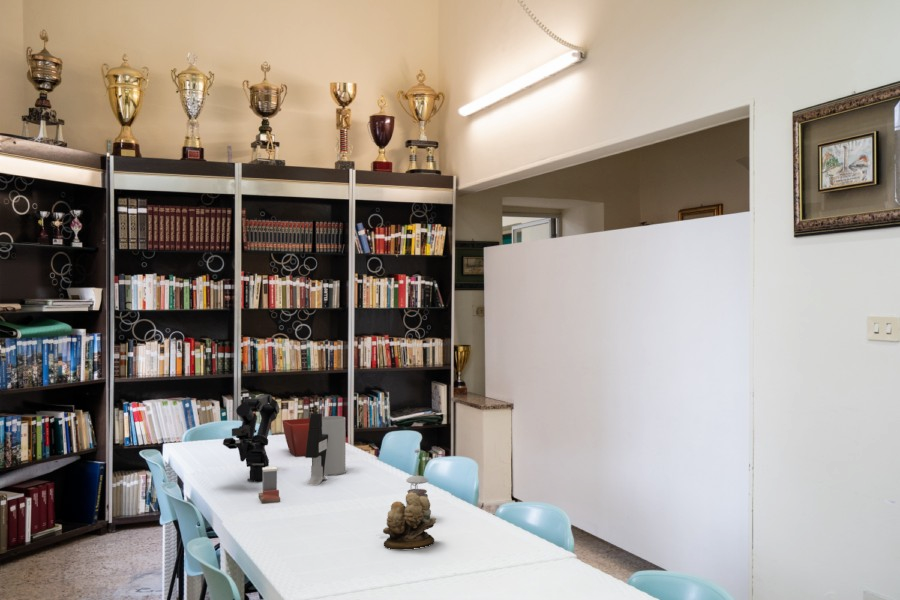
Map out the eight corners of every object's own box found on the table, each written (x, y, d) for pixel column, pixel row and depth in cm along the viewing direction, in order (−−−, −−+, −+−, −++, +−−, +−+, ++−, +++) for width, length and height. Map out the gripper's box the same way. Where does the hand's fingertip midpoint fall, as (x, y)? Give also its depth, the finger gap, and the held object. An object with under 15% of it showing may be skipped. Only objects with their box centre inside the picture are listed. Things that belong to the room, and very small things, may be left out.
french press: (406, 522, 285) (406, 452, 285) (400, 513, 296) (400, 446, 296) (433, 520, 288) (433, 450, 288) (425, 512, 299) (425, 445, 299)
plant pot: (281, 451, 416) (281, 419, 416) (317, 449, 424) (317, 417, 424) (290, 458, 398) (290, 424, 398) (327, 455, 406) (327, 422, 406)
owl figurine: (428, 535, 269) (428, 485, 269) (443, 545, 259) (443, 493, 259) (377, 542, 262) (378, 490, 261) (391, 553, 251) (391, 498, 251)
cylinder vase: (348, 470, 372) (348, 416, 372) (341, 476, 359) (341, 420, 359) (321, 469, 373) (321, 415, 373) (314, 475, 361) (314, 420, 360)
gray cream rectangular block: (262, 494, 318) (262, 467, 318) (275, 493, 319) (275, 466, 319) (263, 497, 314) (263, 469, 314) (277, 496, 315) (277, 468, 315)
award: (316, 486, 340) (316, 415, 339) (304, 485, 341) (304, 415, 341) (328, 478, 354) (328, 410, 354) (317, 477, 355) (317, 410, 355)
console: (258, 496, 321) (258, 485, 321) (276, 495, 324) (276, 484, 324) (262, 503, 311) (262, 491, 311) (280, 501, 313) (280, 490, 313)
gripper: (219, 420, 335) (211, 456, 327) (257, 416, 329) (251, 452, 321) (233, 430, 344) (226, 465, 336) (271, 426, 338) (265, 461, 330)
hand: (242, 461), depth 330 cm, fingers closed
